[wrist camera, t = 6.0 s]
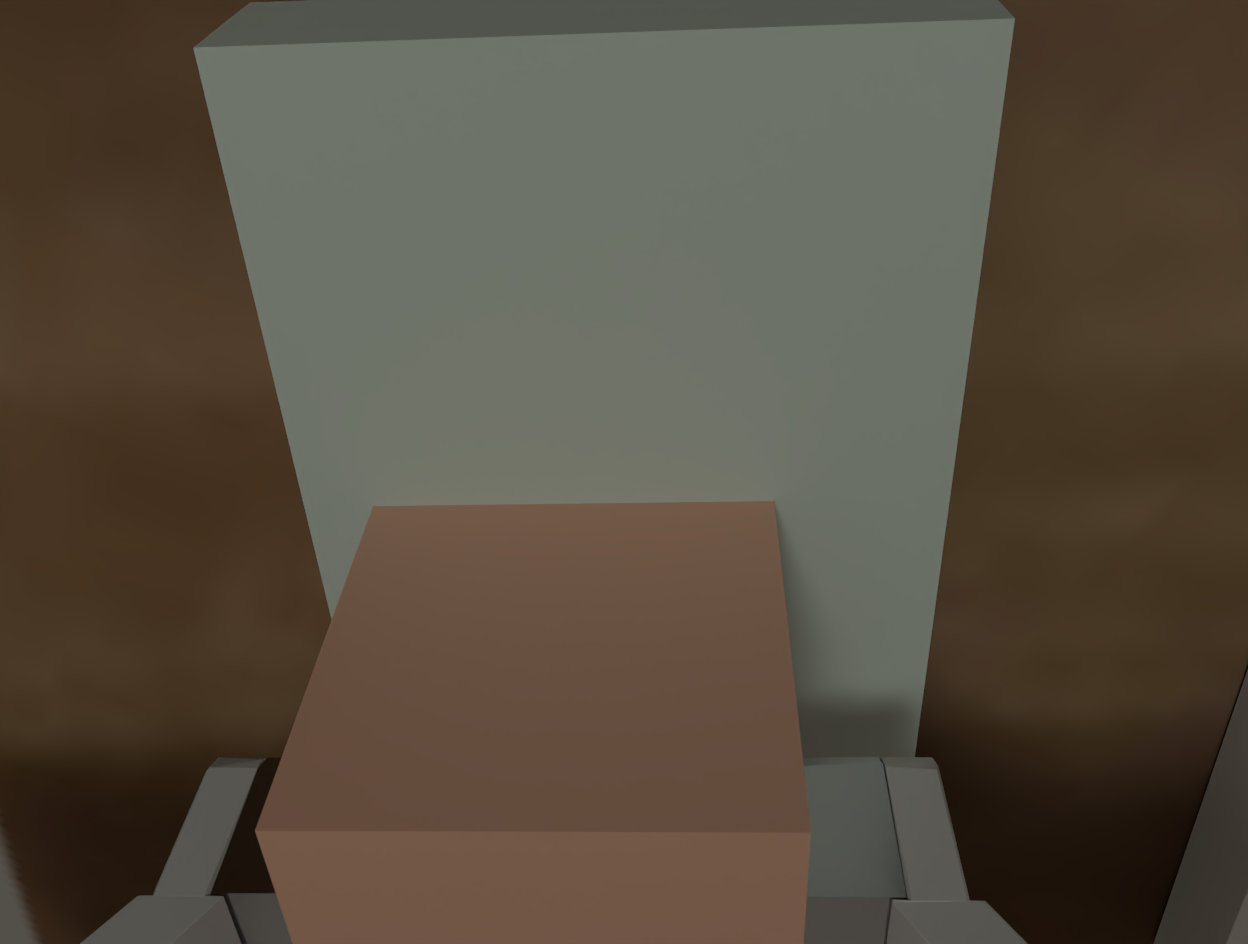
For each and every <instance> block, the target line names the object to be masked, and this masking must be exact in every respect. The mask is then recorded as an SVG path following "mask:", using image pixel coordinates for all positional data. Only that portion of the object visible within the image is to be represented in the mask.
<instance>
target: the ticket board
mask: <svg viewBox="0 0 1248 944" xmlns="http://www.w3.org/2000/svg"><path fill="white" fill-rule="evenodd" d="M1154 944H1248V670H1247V673H1246V676H1245V679H1244V681H1243V684H1242V687H1241V690H1240V693H1239V696H1238V699H1237V702H1236V705H1235V708H1234V711H1233V713H1232V716H1231V719H1230V722H1229V725H1228V728H1227V731H1226V734H1225V737H1224V740H1223V743H1222V746H1221V748H1220V751H1219V754H1218V757H1217V760H1216V763H1215V766H1214V769H1213V772H1212V775H1211V778H1210V780H1209V783H1208V786H1207V789H1206V792H1205V795H1204V798H1203V801H1202V804H1201V807H1200V810H1199V812H1198V815H1197V818H1196V821H1195V824H1194V827H1193V830H1192V833H1191V836H1190V839H1189V842H1188V845H1187V847H1186V850H1185V853H1184V856H1183V859H1182V862H1181V865H1180V868H1179V871H1178V874H1177V877H1176V879H1175V882H1174V885H1173V888H1172V891H1171V894H1170V897H1169V900H1168V903H1167V906H1166V909H1165V912H1164V914H1163V917H1162V920H1161V923H1160V926H1159V929H1158V932H1157V935H1156V938H1155V941H1154Z"/></svg>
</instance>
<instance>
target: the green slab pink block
mask: <svg viewBox="0 0 1248 944" xmlns="http://www.w3.org/2000/svg"><path fill="white" fill-rule="evenodd" d="M1014 21H1015V18H1014V17H1013V16H1012V15H1011V14H1010V13H1009V12H1008V10H1007V9H1006V8H1005V7H1004V6H1003V5H1002V4H1001V3H1000V2H999V1H998V0H304V1H278V2H251V3H249V4H248V5H246V6H245V7H244V8H243V9H241V10H240V11H239V12H237V13H236V14H235V15H234V16H232V17H231V18H230V19H229V20H227V21H226V22H225V23H224V24H222V25H221V26H220V27H219V28H217V29H216V30H215V31H214V32H212V33H211V34H210V35H209V36H207V37H206V38H205V39H204V40H202V41H201V42H200V43H198V44H197V45H196V46H195V47H193V48H194V53H195V57H196V61H197V65H198V69H199V73H200V77H201V81H202V86H203V90H204V94H205V98H206V102H207V106H208V110H209V115H210V119H211V123H212V127H213V131H214V135H215V139H216V144H217V148H218V152H219V156H220V160H221V164H222V168H223V172H224V177H225V181H226V185H227V189H228V193H229V197H230V201H231V206H232V210H233V214H234V218H235V222H236V226H237V230H238V234H239V239H240V243H241V247H242V251H243V255H244V259H245V263H246V268H247V272H248V276H249V280H250V284H251V288H252V292H253V296H254V301H255V305H256V309H257V313H258V317H259V321H260V325H261V330H262V334H263V338H264V342H265V346H266V350H267V354H268V359H269V363H270V367H271V371H272V375H273V379H274V383H275V387H276V392H277V396H278V400H279V404H280V408H281V412H282V416H283V421H284V425H285V429H286V433H287V437H288V441H289V445H290V449H291V454H292V458H293V462H294V466H295V470H296V474H297V478H298V483H299V487H300V491H301V495H302V499H303V503H304V507H305V511H306V516H307V520H308V524H309V528H310V532H311V536H312V540H313V545H314V549H315V553H316V557H317V561H318V565H319V569H320V574H321V578H322V582H323V586H324V590H325V594H326V598H327V602H328V607H329V611H330V615H331V619H332V620H331V623H330V626H329V629H328V631H327V634H326V637H325V639H324V642H323V645H322V648H321V650H320V653H319V656H318V659H317V661H316V664H315V667H314V670H313V672H312V675H311V678H310V681H309V683H308V686H307V689H306V692H305V694H304V697H303V700H302V703H301V705H300V708H299V711H298V714H297V716H296V719H295V722H294V725H293V727H292V730H291V733H290V736H289V738H288V741H287V744H286V747H285V749H284V752H283V755H282V758H281V760H280V763H279V766H278V769H277V771H276V774H275V777H274V780H273V782H272V785H271V788H270V791H269V793H268V796H267V799H266V802H265V804H264V807H263V810H262V813H261V815H260V818H259V821H258V824H257V826H256V829H255V833H256V836H257V839H258V842H259V845H260V848H261V851H262V854H263V857H264V860H265V863H266V866H267V869H268V872H269V875H270V878H271V881H272V884H273V887H274V890H275V893H276V895H277V898H278V901H279V904H280V907H281V910H282V913H283V916H284V919H285V922H286V925H287V928H288V931H289V934H290V937H291V940H292V943H293V944H804V929H805V915H806V900H807V885H808V871H809V856H810V841H811V828H810V818H809V809H808V800H807V791H806V782H805V773H804V764H803V758H825V757H878V758H879V759H881V757H915V752H916V744H917V737H918V729H919V722H920V715H921V707H922V700H923V693H924V685H925V678H926V670H927V663H928V656H929V648H930V641H931V634H932V626H933V619H934V611H935V604H936V597H937V589H938V582H939V575H940V567H941V560H942V552H943V545H944V538H945V530H946V523H947V516H948V508H949V501H950V493H951V486H952V479H953V471H954V464H955V457H956V449H957V442H958V434H959V427H960V420H961V412H962V405H963V398H964V390H965V383H966V375H967V368H968V361H969V353H970V346H971V339H972V331H973V324H974V316H975V309H976V302H977V294H978V287H979V280H980V272H981V265H982V257H983V250H984V243H985V235H986V228H987V221H988V213H989V206H990V198H991V191H992V184H993V176H994V169H995V162H996V154H997V147H998V139H999V132H1000V125H1001V117H1002V110H1003V103H1004V95H1005V88H1006V80H1007V73H1008V66H1009V58H1010V51H1011V44H1012V36H1013V29H1014Z"/></svg>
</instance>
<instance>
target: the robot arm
mask: <svg viewBox="0 0 1248 944" xmlns="http://www.w3.org/2000/svg"><path fill="white" fill-rule="evenodd" d="M280 760H281V758H232V757H218V758H217V759H216V761H215V762H214V763H213V764H212V765H211V766H210V767H209V768H208V769H207V771H206V772H205V775H204V777H203V779H202V782H201V784H200V786H199V789H198V791H197V793H196V796H195V798H194V800H193V803H192V805H191V807H190V809H189V812H188V814H187V816H186V819H185V821H184V823H183V826H182V828H181V830H180V833H179V835H178V837H177V840H176V842H175V844H174V847H173V849H172V851H171V853H170V856H169V858H168V860H167V863H166V865H165V867H164V870H163V872H162V874H161V877H160V879H159V881H158V884H157V886H156V888H155V890H154V893H153V895H139V896H137V897H135V898H134V899H133V900H132V901H131V902H129V903H128V904H127V905H126V906H125V907H123V908H122V909H121V910H120V911H119V912H117V913H116V914H115V915H114V916H113V917H111V918H110V919H109V920H108V921H107V922H105V923H104V924H103V925H102V926H100V927H99V928H98V929H97V930H96V931H94V932H93V933H92V934H91V935H90V936H88V937H87V938H86V939H85V940H84V941H82V942H81V943H80V944H293V943H292V940H291V937H290V934H289V931H288V928H287V925H286V922H285V919H284V916H283V913H282V910H281V907H280V904H279V901H278V898H277V895H276V893H275V890H274V887H273V884H272V881H271V878H270V875H269V872H268V869H267V866H266V863H265V860H264V857H263V854H262V851H261V848H260V845H259V842H258V839H257V836H256V833H255V829H256V826H257V824H258V821H259V818H260V815H261V813H262V810H263V807H264V804H265V802H266V799H267V796H268V793H269V791H270V788H271V785H272V782H273V780H274V777H275V774H276V771H277V769H278V766H279V763H280ZM803 764H804V773H805V782H806V791H807V800H808V809H809V818H810V828H811V841H810V856H809V871H808V885H807V900H806V915H805V929H804V944H1028V943H1027V942H1026V941H1025V940H1024V939H1023V938H1022V937H1021V936H1020V935H1019V934H1018V933H1017V932H1016V931H1015V930H1014V929H1013V928H1012V927H1011V926H1010V925H1009V924H1008V923H1007V922H1006V921H1005V920H1004V919H1003V918H1002V917H1001V916H1000V915H999V914H998V913H997V912H996V911H995V910H994V909H993V908H992V907H991V906H990V905H989V904H988V903H987V902H986V901H975V900H970V899H969V895H968V891H967V886H966V882H965V878H964V874H963V869H962V865H961V861H960V857H959V852H958V848H957V844H956V839H955V835H954V831H953V827H952V822H951V818H950V814H949V810H948V805H947V801H946V797H945V792H944V788H943V784H942V780H941V775H940V771H939V767H938V765H937V763H936V762H935V760H934V759H933V758H932V757H881V759H879V758H878V757H825V758H803Z"/></svg>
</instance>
